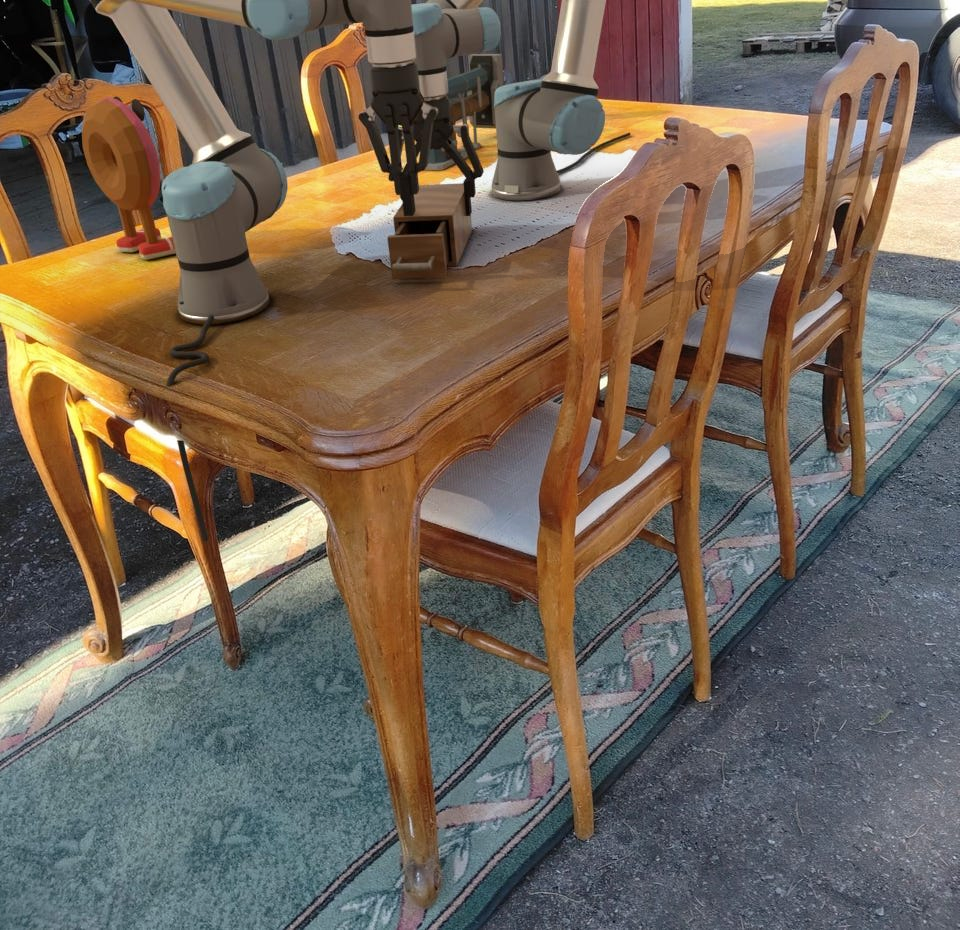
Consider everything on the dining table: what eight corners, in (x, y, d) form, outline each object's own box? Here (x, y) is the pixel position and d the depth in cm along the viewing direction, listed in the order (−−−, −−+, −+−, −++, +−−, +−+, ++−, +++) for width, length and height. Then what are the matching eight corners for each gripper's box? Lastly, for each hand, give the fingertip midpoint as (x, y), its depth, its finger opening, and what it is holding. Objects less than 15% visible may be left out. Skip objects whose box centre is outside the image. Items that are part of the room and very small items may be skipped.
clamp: (441, 170, 238) (433, 78, 227) (411, 168, 242) (401, 78, 231) (506, 137, 263) (501, 53, 253) (478, 136, 267) (472, 53, 257)
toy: (201, 251, 195) (166, 95, 180) (157, 266, 189) (116, 105, 173) (147, 235, 208) (109, 88, 193) (104, 248, 202) (61, 97, 187)
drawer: (441, 288, 164) (437, 244, 161) (386, 289, 166) (381, 246, 162) (462, 241, 186) (458, 202, 182) (413, 242, 187) (408, 204, 183)
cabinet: (457, 266, 176) (452, 214, 172) (399, 267, 178) (393, 217, 173) (472, 230, 195) (468, 183, 190) (419, 231, 196) (414, 185, 191)
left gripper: (438, 56, 152) (451, 205, 164) (357, 61, 154) (376, 208, 166) (430, 64, 146) (444, 218, 158) (346, 69, 148) (367, 221, 160)
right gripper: (493, 89, 179) (501, 207, 190) (371, 96, 183) (385, 211, 194) (488, 97, 173) (496, 218, 184) (362, 104, 176) (377, 223, 187)
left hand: (409, 213), depth 162 cm, fingers closed
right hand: (439, 215), depth 189 cm, fingers closed on cabinet, 11 cm apart
